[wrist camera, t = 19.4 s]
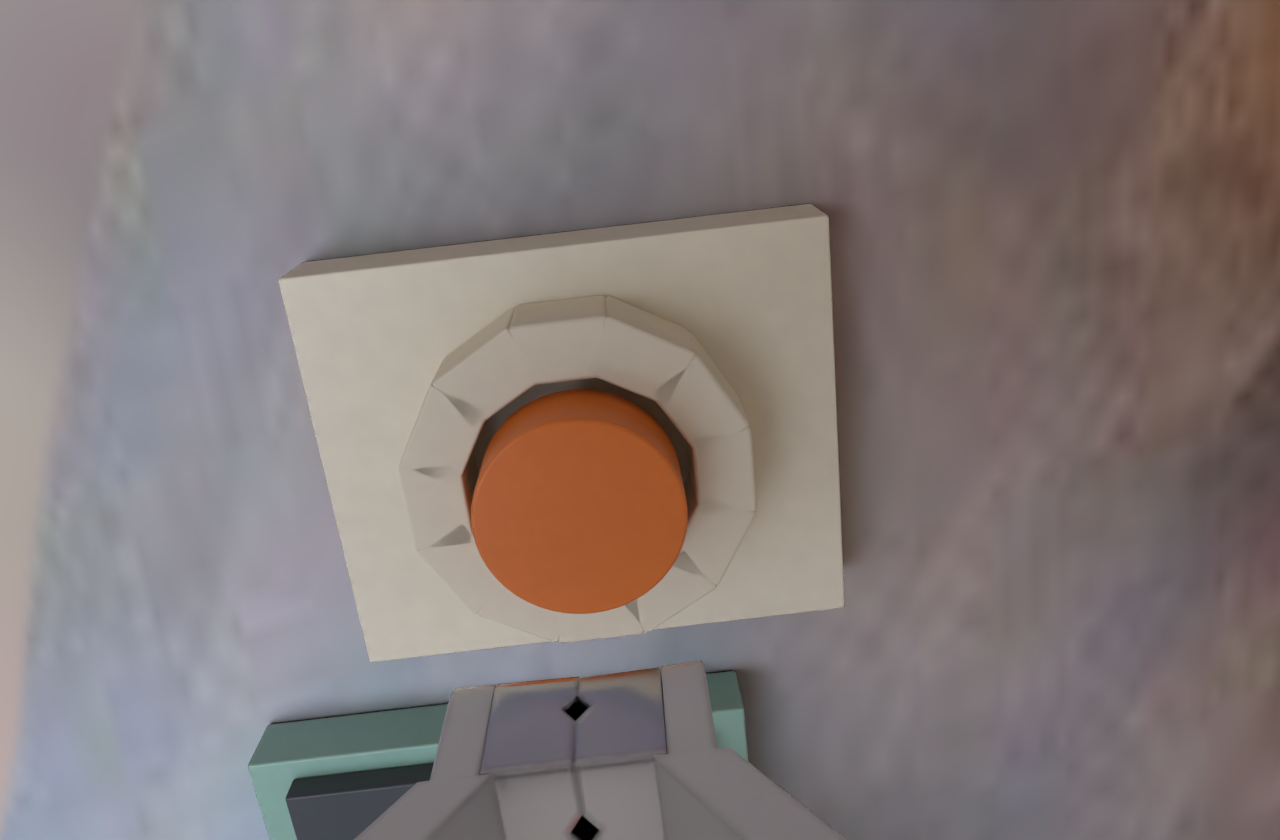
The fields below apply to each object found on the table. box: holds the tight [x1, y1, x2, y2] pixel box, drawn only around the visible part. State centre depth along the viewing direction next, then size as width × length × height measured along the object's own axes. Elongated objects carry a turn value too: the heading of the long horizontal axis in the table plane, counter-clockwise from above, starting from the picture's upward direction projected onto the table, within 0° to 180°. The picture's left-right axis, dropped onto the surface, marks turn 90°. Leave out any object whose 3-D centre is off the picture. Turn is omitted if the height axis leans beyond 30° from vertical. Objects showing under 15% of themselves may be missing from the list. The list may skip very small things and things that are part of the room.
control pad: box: [279, 204, 845, 662], centre depth 21 cm, size 11×9×4 cm
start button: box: [471, 389, 688, 614], centre depth 19 cm, size 4×4×2 cm
